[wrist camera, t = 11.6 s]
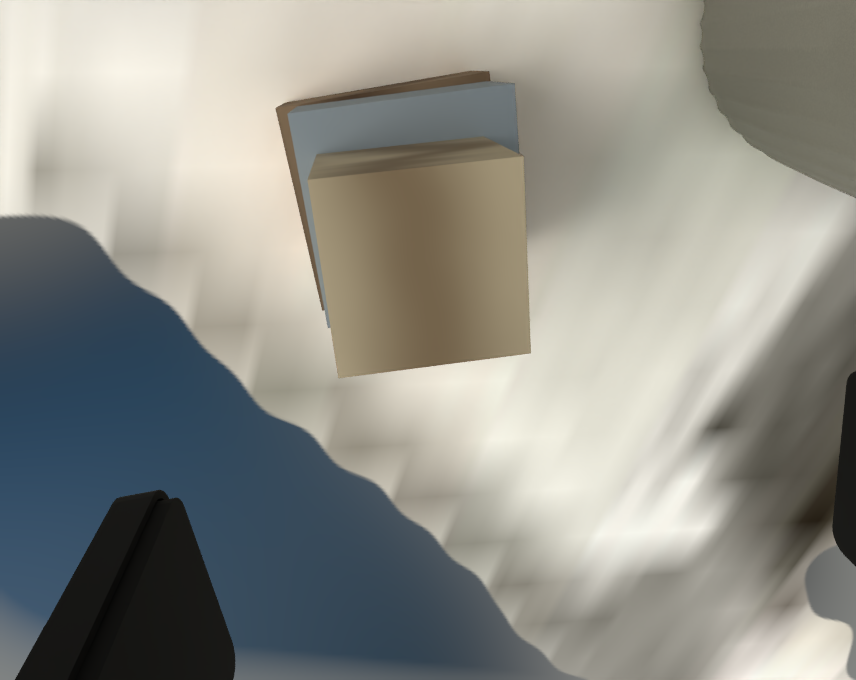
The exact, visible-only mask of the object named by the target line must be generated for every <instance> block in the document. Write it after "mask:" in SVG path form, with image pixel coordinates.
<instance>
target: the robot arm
mask: <svg viewBox="0 0 856 680" xmlns="http://www.w3.org/2000/svg"><path fill="white" fill-rule="evenodd" d="M833 535H834V538H835V541H836V543H837V545H838V547H839V549H840V550H841V551H842V552H843V554H844V555H845V556H846V557H847V558H848V559H849V560H850V561H851V562H852V563H853V564H854V565H855V566H856V372H853V373H852V374H850V376H849V377H848V380H847V385H846V395H845V405H844V415H843V425H842V435H841V445H840V455H839V465H838V475H837V485H836V495H835V505H834V516H833ZM234 672H235V653H234V646H233V643H232V640H231V637H230V634H229V631H228V628H227V626H226V623H225V620H224V617H223V614H222V612H221V609H220V606H219V603H218V600H217V597H216V595H215V592H214V589H213V586H212V583H211V580H210V578H209V575H208V572H207V569H206V567H205V564H204V561H203V558H202V555H201V553H200V550H199V547H198V544H197V541H196V538H195V535H194V533H193V530H192V527H191V524H190V521H189V519H188V516H187V513H186V510H185V507H184V505H183V503H182V501H181V500H180V499H179V498H172V499H169V498H168V496H167V495H166V493H165V492H164V491H162V490H156V491H151V492H146V493H140V494H135V495H130V496H124V497H120V498H117V499H116V500H115V501H114V502H113V504H112V505H111V507H110V509H109V511H108V513H107V514H106V516H105V518H104V520H103V522H102V524H101V525H100V527H99V529H98V531H97V533H96V534H95V536H94V538H93V540H92V542H91V543H90V545H89V547H88V549H87V551H86V553H85V554H84V556H83V558H82V560H81V562H80V564H79V565H78V567H77V569H76V571H75V572H74V574H73V576H72V578H71V580H70V582H69V583H68V585H67V587H66V589H65V591H64V592H63V594H62V596H61V598H60V600H59V602H58V603H57V605H56V607H55V609H54V611H53V612H52V614H51V616H50V618H49V620H48V622H47V623H46V625H45V626H44V628H43V630H42V632H41V634H40V635H39V637H38V639H37V641H36V643H35V645H34V646H33V648H32V650H31V652H30V653H29V655H28V657H27V659H26V661H25V663H24V665H23V666H22V668H21V670H20V672H19V673H18V675H17V677H16V679H15V680H233V678H234Z"/></svg>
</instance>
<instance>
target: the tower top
mask: <svg viewBox="0 0 856 680" xmlns="http://www.w3.org/2000/svg"><path fill="white" fill-rule="evenodd" d="M287 115H288V120H289V125H290V131H291V136H292V141H293V146H294V152H295V157H296V162H297V167H298V173H299V178H300V183H301V188H302V194H303V199H304V204H305V209H306V215H307V220H308V225H309V231H310V236H311V241H312V246H313V252H314V257H315V262H316V267H317V273H318V278H319V283H320V288H321V294H322V299H323V304H324V310H325V315H326V320H327V325H328V328H331V327H330V321H329V314H328V308H327V302H326V295H325V289H324V283H323V276H322V270H321V263H320V257H319V251H318V244H317V238H316V232H315V225H314V219H313V213H312V206H311V200H310V193H309V187H308V181H307V180H308V177H309V174H310V171H311V168H312V166H313V163H314V160H315V157H316V154H323V153H333V152H342V151H351V150H361V149H370V148H379V147H389V146H398V145H407V144H417V143H426V142H435V141H445V140H454V139H463V138H473V137H482V136H484V137H486V138H488V139H490V140H492V141H494V142H496V143H498V144H500V145H502V146H504V147H506V148H508V149H510V150H512V151H514V152H516V153H518V154H519V144H518V129H517V114H516V99H515V84H514V83H504V82H492V81H485V82H477V83H470V84H462V85H455V86H447V87H440V88H432V89H425V90H417V91H409V92H402V93H394V94H387V95H379V96H372V97H364V98H357V99H349V100H342V101H334V102H327V103H319V104H312V105H304V106H297V107H296V108H294V109H293V110H292V111H290V112H289V113H288V114H287Z"/></svg>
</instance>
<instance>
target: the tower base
mask: <svg viewBox="0 0 856 680" xmlns="http://www.w3.org/2000/svg"><path fill="white" fill-rule="evenodd" d="M485 81H490V74H489V71H467V72H461V73H456V74H450V75H444V76H438V77H432V78H426V79H421V80H415V81H409V82H403V83H397V84H391V85H386V86H380V87H374V88H368V89H362V90H357V91H351V92H345V93H339V94H333V95H327V96H322V97H316V98H310V99H304V100H298V101H292V102H287V103H284V104H282V105H280V106H278V107H277V108H276V112H277V117H278V121H279V125H280V130H281V134H282V138H283V143H284V147H285V151H286V156H287V160H288V164H289V169H290V173H291V177H292V182H293V186H294V190H295V195H296V199H297V203H298V207H299V212H300V216H301V220H302V225H303V229H304V233H305V238H306V242H307V246H308V251H309V255H310V259H311V264H312V268H313V272H314V277H315V281H316V285H317V290H318V294H319V298H320V303H321V307H322V311H323V310H324V304H323V299H322V294H321V288H320V283H319V278H318V273H317V267H316V262H315V257H314V252H313V246H312V241H311V236H310V231H309V225H308V220H307V215H306V209H305V204H304V199H303V194H302V188H301V183H300V178H299V173H298V167H297V162H296V157H295V152H294V146H293V141H292V136H291V131H290V125H289V120H288V115H287V114H288V113H289V112H290V111H292V110H293V109H294V108H296V107H297V106H304V105H312V104H319V103H327V102H334V101H342V100H349V99H357V98H364V97H372V96H379V95H387V94H394V93H402V92H409V91H417V90H425V89H432V88H440V87H447V86H455V85H462V84H470V83H477V82H485Z"/></svg>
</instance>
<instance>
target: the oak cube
mask: <svg viewBox="0 0 856 680" xmlns="http://www.w3.org/2000/svg"><path fill="white" fill-rule="evenodd" d="M307 181H308V187H309V193H310V200H311V206H312V213H313V219H314V225H315V232H316V238H317V244H318V251H319V257H320V263H321V270H322V276H323V283H324V289H325V295H326V302H327V308H328V314H329V321H330V327H331V333H332V340H333V346H334V353H335V359H336V365H337V372H338V378H344V377H352V376H360V375H367V374H375V373H383V372H390V371H398V370H406V369H413V368H421V367H429V366H437V365H444V364H452V363H460V362H467V361H475V360H483V359H490V358H498V357H506V356H514V355H521V354H529V353H531V345H530V318H529V291H528V264H527V237H526V210H525V183H524V156H522V155H520V154H518V153H516V152H514V151H512V150H510V149H508V148H506V147H504V146H502V145H500V144H498V143H496V142H494V141H492V140H490V139H488V138H486V137H484V136H482V137H473V138H463V139H454V140H445V141H435V142H426V143H417V144H407V145H398V146H389V147H379V148H370V149H361V150H351V151H342V152H333V153H323V154H316V157H315V160H314V163H313V166H312V168H311V171H310V174H309V177H308V180H307Z"/></svg>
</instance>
